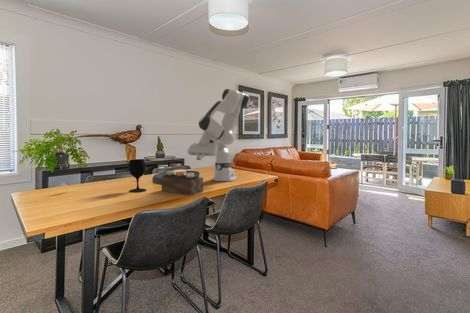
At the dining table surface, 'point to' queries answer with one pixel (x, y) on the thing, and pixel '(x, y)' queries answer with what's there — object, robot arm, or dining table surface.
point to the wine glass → (137, 172)
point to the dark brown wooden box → (182, 184)
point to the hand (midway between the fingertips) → (198, 159)
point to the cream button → (189, 175)
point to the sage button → (170, 173)
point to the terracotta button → (179, 173)
